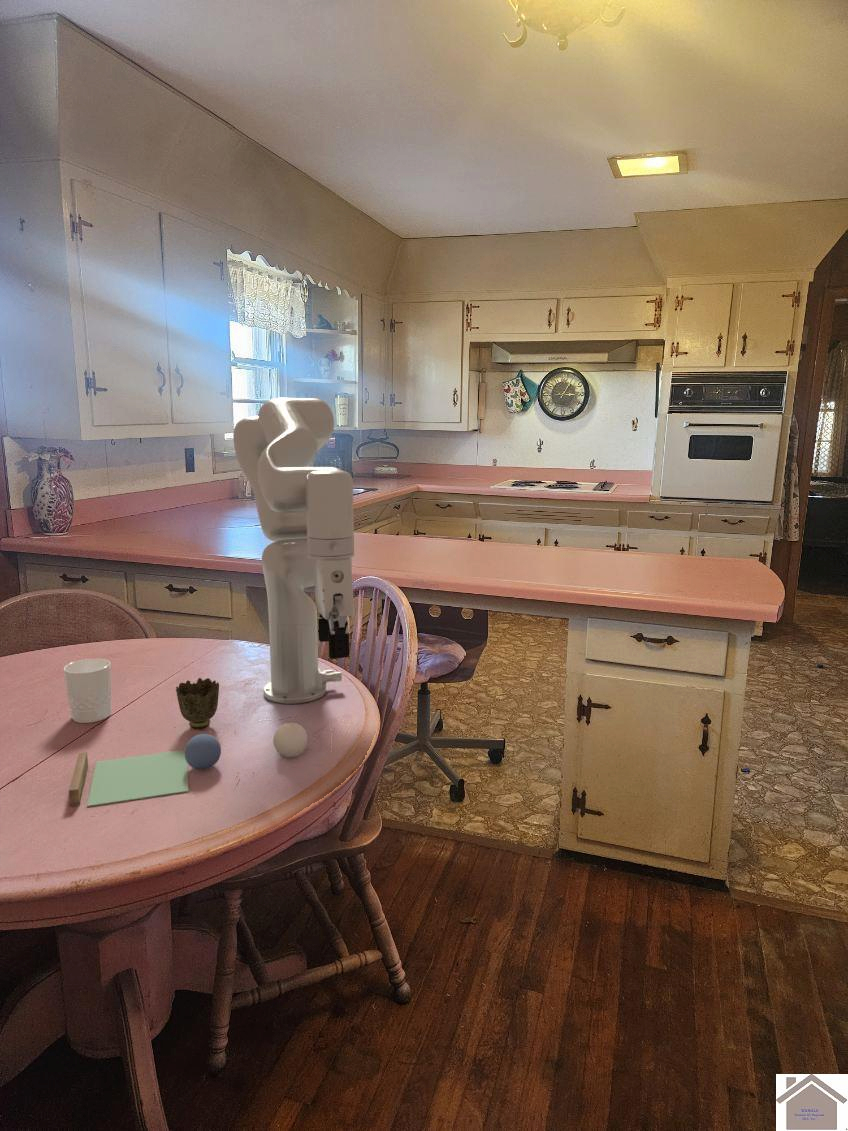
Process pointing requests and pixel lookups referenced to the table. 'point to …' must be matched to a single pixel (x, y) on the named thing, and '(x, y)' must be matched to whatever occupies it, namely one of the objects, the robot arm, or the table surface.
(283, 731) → the cream ball
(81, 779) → the stop rail
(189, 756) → the object ball
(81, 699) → the white cup
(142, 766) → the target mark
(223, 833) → the table surface
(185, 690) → the cup
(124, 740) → the table surface
